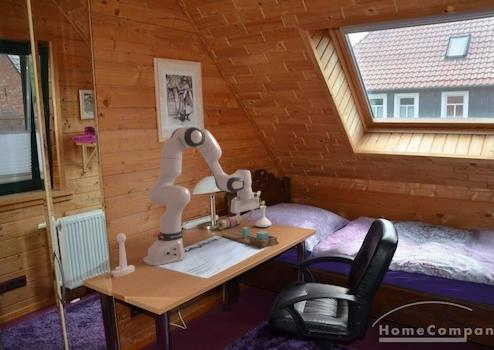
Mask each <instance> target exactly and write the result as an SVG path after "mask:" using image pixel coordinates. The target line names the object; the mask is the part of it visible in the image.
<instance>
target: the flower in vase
mask: <svg viewBox="0 0 494 350" xmlns="http://www.w3.org/2000/svg"><path fill="white" fill-rule="evenodd" d="M256 193H258V198H259V207H258V208H260V213H261V216H260V218H259V219H258V220H256V221H255V222H254V225H255V226H256V227H258V228H268V227H271V226H272V224H273V223H272V222H271V220H269V219H268V218H267V217H266V214H265V212H266V208H267V206H266V205H265V203H266V202H265V200H261V198H260V195H261V193H262V192H261V190H258V191H257V192H256Z"/></svg>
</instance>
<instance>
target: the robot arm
mask: <svg viewBox="0 0 494 350" xmlns="http://www.w3.org/2000/svg"><path fill="white" fill-rule="evenodd" d="M185 148H186V149H189V148H190V149H191V148H197V149H198V151H199V152H200V154H201V156H202V157H203V159H204V160H205V163H206V165H207V166H208V168H209V170H210V172H211V174H212V175H213V178H214V182H215V183H214V184H215V186H216V188H217V189H218V190H220V191H223V192H224V191H225V192H229V193H236V194H237V195H236V197H233V198H232V199H231V201H230V213H231V214H236V215H235V216H237V217H238V220H240V219H241V218H242V216H241V213H243V212H247V211H250V212H249V214H248V215H249V217H250V218H251V217H254V213H255V209H259V208H260V207H259V206H260V205H259V203H260V199H259V198H260V197H258V193H257V192H253V190H252V183H253V182H252V175H251V172H250V170H249V169H247V168H238V169H237V170H236V171H235V172H234V173H232V174H230V175H229V174H227V173H226V172H224V170H223V168H222V167H221V165H220V162H219V159H221V157H222V154H223V152H222V149H221V147H220V144H219V142H218V141H217V140H216V138H215V137H214V136H213V134H212V133H211V132H210V131H209V130H208V129H206V128H202V129H200V128H198V127H195V126H185V127H178V128H177V129H175V130H174V131H172V133H171V136H170V138H167V139H165V140H164V141H163V145H162V148H161V155H160V156H161V157H160V166H159V173H158V176H157V179H156V181H155V183H154V184H152V186H150V188H149V189H148V192H147V194H148V199H149V201H150V202H152V203H153V204H156V205H158V206H159V205H160V206H165V207H166V208H165V212H164V213H163V214H161V215H160V218H159V225H160V226H159V227H160V229H159V230H160V231H159V233H158V232H154V233H153V236H154V237H155V238H157V240H155V242H153V244H151V245H150V247H148V249H147V256H145V257H143V259H142V260H143V263H145V264H147V265H150V266H155V267H156V266H161V265H165V264H167V265H168V264H170V263H176V262H180V261H181V262H182V261H183V260H184V258H186V256H187V254H186V252H185V248H184V247H185V246H184V243H183V239H184V238H183V237H184V236H183V230H182V215H183V212H184V209H185V207H186V206H187V205H188V204H189V203H190V201H191V195H192V194H191V192H190V190H189V188H186V187H184V186H181V185H174V184H175V180H176V179H177V178H179V177H180V176H181V174H182V167H183V152H184V150H185Z"/></svg>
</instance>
